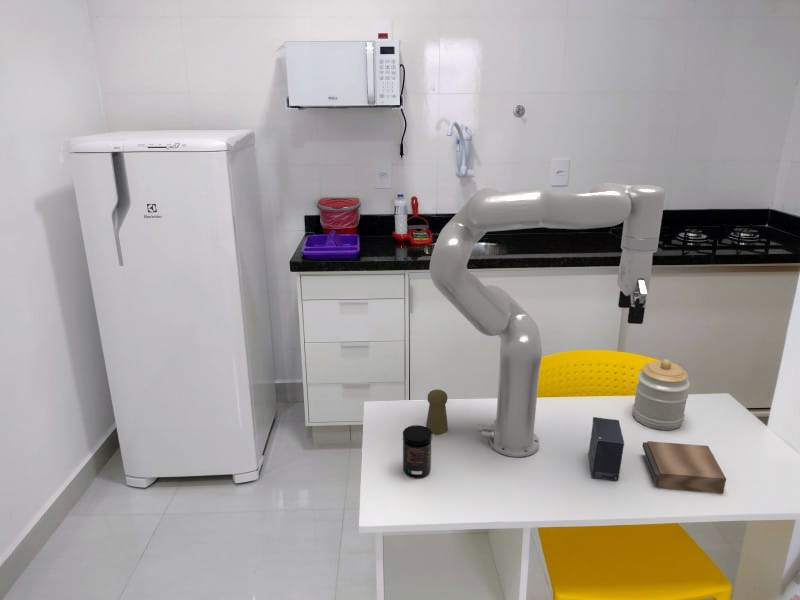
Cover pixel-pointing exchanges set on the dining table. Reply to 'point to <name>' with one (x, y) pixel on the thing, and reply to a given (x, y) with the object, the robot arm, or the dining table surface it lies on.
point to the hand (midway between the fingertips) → (629, 315)
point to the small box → (605, 449)
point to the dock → (684, 467)
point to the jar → (661, 395)
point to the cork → (437, 412)
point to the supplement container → (417, 451)
